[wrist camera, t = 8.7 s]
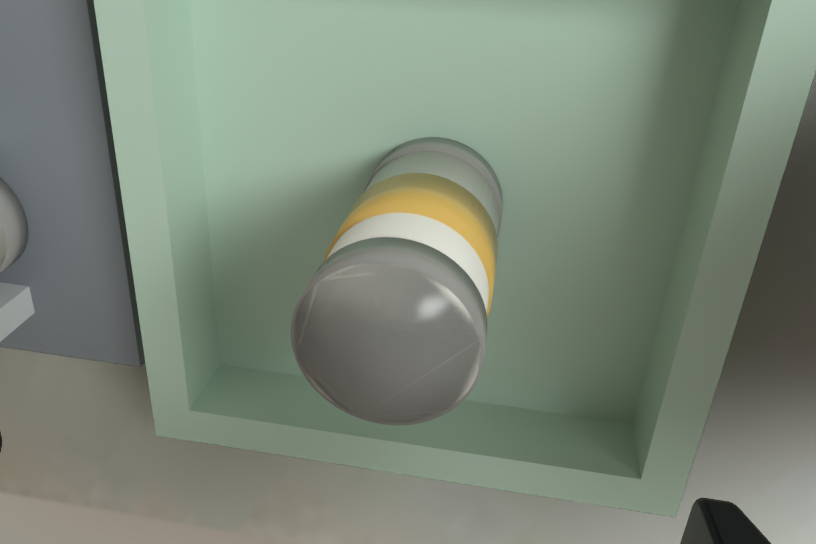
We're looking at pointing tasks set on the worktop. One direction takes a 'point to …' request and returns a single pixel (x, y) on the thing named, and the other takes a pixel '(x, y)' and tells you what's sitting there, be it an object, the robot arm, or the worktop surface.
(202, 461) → the worktop surface
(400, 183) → the fuse marked
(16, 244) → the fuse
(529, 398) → the tray
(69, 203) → the fuse panel
